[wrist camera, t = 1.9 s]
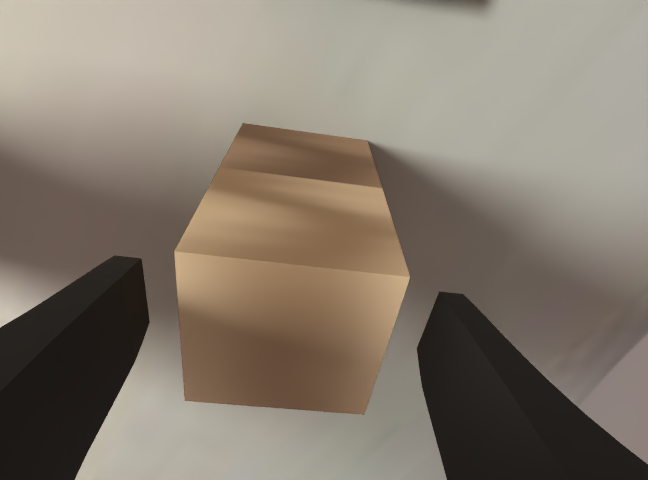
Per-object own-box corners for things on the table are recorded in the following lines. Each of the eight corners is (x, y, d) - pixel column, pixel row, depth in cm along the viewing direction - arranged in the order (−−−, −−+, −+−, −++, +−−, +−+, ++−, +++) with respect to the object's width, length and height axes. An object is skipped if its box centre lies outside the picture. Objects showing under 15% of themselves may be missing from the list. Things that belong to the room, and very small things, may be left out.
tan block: (239, 230, 16) (185, 400, 10) (243, 123, 14) (174, 251, 7) (345, 242, 17) (364, 414, 10) (367, 140, 14) (410, 277, 8)
